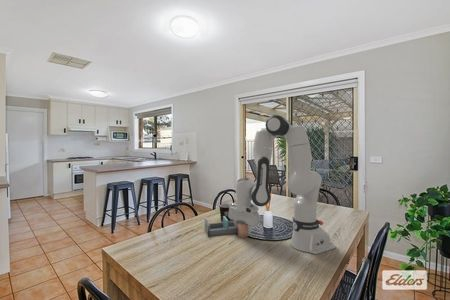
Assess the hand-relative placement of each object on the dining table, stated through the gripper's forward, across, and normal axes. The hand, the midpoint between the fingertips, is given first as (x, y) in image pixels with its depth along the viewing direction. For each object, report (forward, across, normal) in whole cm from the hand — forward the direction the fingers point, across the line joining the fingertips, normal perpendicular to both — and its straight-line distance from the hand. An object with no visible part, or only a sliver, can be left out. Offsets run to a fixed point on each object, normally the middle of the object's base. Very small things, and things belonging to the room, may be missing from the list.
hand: (243, 229), depth 127 cm
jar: (+3, 0, 0) cm, 3 cm away
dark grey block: (+3, -14, -3) cm, 14 cm away
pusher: (+3, -13, -1) cm, 13 cm away
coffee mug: (+4, -23, +14) cm, 27 cm away
